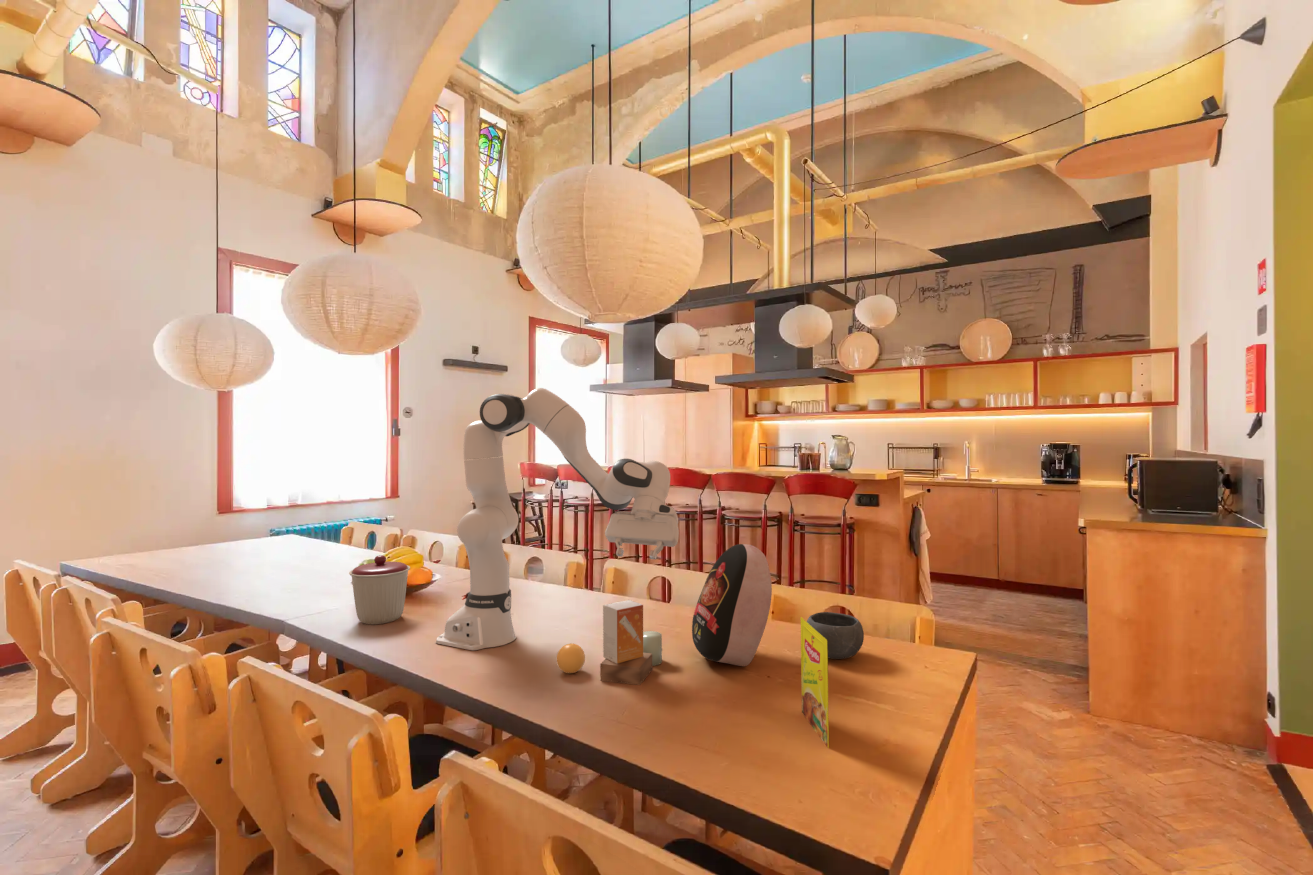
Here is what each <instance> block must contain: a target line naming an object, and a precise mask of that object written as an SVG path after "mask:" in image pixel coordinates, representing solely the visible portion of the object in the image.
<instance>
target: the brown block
mask: <svg viewBox="0 0 1313 875" xmlns="http://www.w3.org/2000/svg"><path fill="white" fill-rule="evenodd" d="M599 667H600V671H599V673H600V681H603V682H613V683H621V684H629V685H630V684H632V685H639V686H640V685H642V683H643V682H644V681H645V679H646V678H647V676H649V674H650V673H651V672H652V671H653V666H652V653H643V657H640V658H636V659H632V660H628V661H625V662H621V663H618V664H617V663H614V662H612V661H610V660H608V659H606V658H604V659H603V661H601V663H600V664H599Z"/></svg>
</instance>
